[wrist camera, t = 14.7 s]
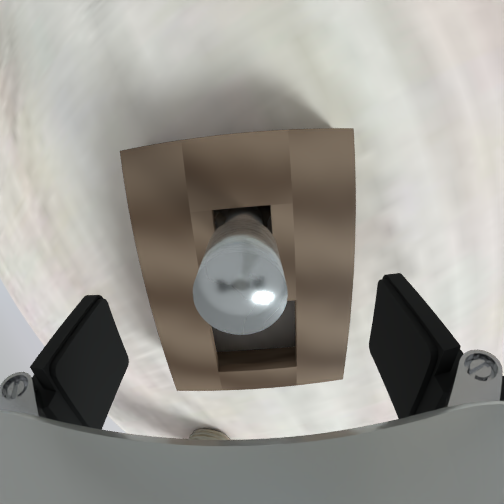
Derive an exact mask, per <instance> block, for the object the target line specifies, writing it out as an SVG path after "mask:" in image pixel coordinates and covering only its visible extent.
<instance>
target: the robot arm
mask: <svg viewBox="0 0 504 504" xmlns="http://www.w3.org/2000/svg"><path fill="white" fill-rule="evenodd" d="M369 349H370V353H371V355H372V357H373V359H374V361H375V364H376V366H377V368H378V370H379V373H380V375H381V377H382V380H383V382H384V384H385V387H386V389H387V391H388V394H389V396H390V398H391V401H392V403H393V406H394V408H395V411H396V413H397V415H398V418H399V419H397V420H393V421H388V422H384V423H379V424H374V425H369V426H364V427H358V428H353V429H347V430H341V431H335V432H328V433H321V434H313V435H305V436H295V437H284V438H270V439H251V440H196V439H176V438H163V437H152V436H142V435H134V434H126V433H119V432H112V431H106V430H102V427H103V424H104V422H105V419H106V417H107V414H108V412H109V410H110V407H111V405H112V402H113V400H114V397H115V395H116V393H117V390H118V388H119V386H120V383H121V381H122V379H123V376H124V374H125V372H126V369H127V367H128V363H129V359H128V355H127V353H126V350H125V348H124V345H123V343H122V340H121V338H120V335H119V333H118V330H117V327H116V325H115V322H114V319H113V316H112V314H111V311H110V308H109V305H108V302H107V301H106V299H103V297H102V296H100V295H87V296H85V297H84V298H83V299H82V300H81V302H80V303H79V304H78V305H77V306H76V308H75V309H74V310H73V311H72V312H71V314H70V315H69V316H68V317H67V319H66V320H65V321H64V322H63V324H62V325H61V326H60V328H59V329H58V330H57V331H56V333H55V334H54V335H53V337H52V338H51V339H50V341H49V342H48V343H47V345H46V346H45V347H44V349H43V350H42V351H41V353H40V354H39V355H38V357H37V358H36V359H35V361H34V362H33V364H32V365H31V366H30V368H31V369H32V371H33V373H34V376H33V377H31V376H30V375H29V374H28V373H25V372H18V373H15V374H12V375H10V376H9V377H7V378H6V379H5V380H4V381H3V383H2V384H1V385H0V504H504V376H502V366H501V364H500V362H499V360H498V359H497V358H496V357H495V356H494V355H492V354H491V353H489V352H486V351H484V350H470V351H468V352H466V353H464V354H463V352H462V351H461V350H460V345H459V343H458V342H457V341H456V339H455V338H454V337H453V335H452V334H451V333H450V332H449V330H448V329H447V328H446V327H445V325H444V324H443V323H442V322H441V320H440V319H439V318H438V317H437V315H436V314H435V313H434V312H433V310H432V309H431V308H430V307H429V306H428V304H427V303H426V302H425V301H424V300H423V298H422V297H421V296H420V295H419V294H418V292H417V291H416V290H415V289H414V288H413V287H412V286H411V284H410V283H409V282H408V281H407V280H406V279H405V278H404V276H403V275H402V274H400V273H397V274H388V275H384V276H383V279H382V280H379V282H378V286H377V295H376V302H375V309H374V316H373V322H372V329H371V335H370V340H369Z"/></svg>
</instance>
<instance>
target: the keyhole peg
mask: <svg viewBox="0 0 504 504" xmlns="http://www.w3.org/2000/svg"><path fill="white" fill-rule="evenodd" d="M214 217H215V225H216V230H215V232H214V233H213V234H212V236H211V238H210V240H209V243H208V245H207V248H206V251H205V254H204V256H203V259H202V262H201V265H200V267H199V270H198V273H197V276H196V279H195V282H194V285H193V300H194V304H195V306H196V309H197V311H198V312H199V314H200V315H201V317H202V318H203V319H204V320H205V321H206V322H207V323H208V324H210V325H211V326H212V327H214V328H216V329H218V330H220V331H222V332H226V333H230V334H236V335H246V334H252V333H256V332H259V331H262V330H264V329H266V328H268V327H269V326H271V325H272V324H273V323H274V322H276V320H277V319H278V318H279V317H280V316H281V314H282V313H283V311H284V309H285V306H286V303H287V297H288V291H287V285H286V281H285V277H284V272H283V268H282V264H281V260H280V256H279V252H278V248H277V244H276V241H275V238H274V237H273V235H272V227H271V213H270V205H264V206H252V207H240V208H229V209H219V210H214Z"/></svg>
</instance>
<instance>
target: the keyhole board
mask: <svg viewBox="0 0 504 504" xmlns="http://www.w3.org/2000/svg"><path fill="white" fill-rule="evenodd" d="M120 155H121V163H122V170H123V177H124V184H125V190H126V196H127V202H128V208H129V213H130V219H131V224H132V229H133V234H134V239H135V244H136V248H137V253H138V257H139V262H140V266H141V270H142V275H143V279H144V283H145V287H146V291H147V295H148V298H149V302H150V306H151V310H152V313H153V317H154V320H155V324H156V327H157V331H158V334H159V337H160V341H161V344H162V347H163V350H164V354H165V357H166V360H167V363H168V366H169V369H170V372H171V375H172V378H173V381H174V384H175V386H176V389H177V391H216V390H243V389H260V388H273V387H284V386H294V385H304V384H312V383H320V382H327V381H334V380H341V379H343V374H344V367H345V359H346V351H347V343H348V334H349V324H350V314H351V302H352V289H353V274H354V254H355V218H356V183H355V148H354V129H351V128H325V129H290V130H272V131H257V132H245V133H234V134H225V135H216V136H207V137H199V138H192V139H185V140H178V141H172V142H165V143H159V144H154V145H148V146H143V147H137V148H132V149H127V150H122V151H120ZM264 205H270V213H271V227H272V235H273V237H274V238H275V241H276V244H277V248H278V252H279V256H280V260H281V264H282V268H283V272H284V277H285V281H286V285H287V291H288V297H287V301H293V300H295V346H294V347H284V348H272V349H260V350H245V351H228V352H217V351H216V346H215V341H214V336H213V331H212V326H211V325H210V324H208V323H207V322H206V321H205V320H204V319H203V318H202V317H201V315H200V314H199V312H198V311H197V309H196V306H195V304H194V300H193V285H194V282H195V279H196V276H197V273H198V270H199V267H200V265H201V262H202V259H203V256H204V254H205V251H206V248H207V245H208V243H209V240H210V238H211V236H212V234H213V233H214V232H215V230H216V225H215V217H214V210H219V209H229V208H240V207H252V206H264Z"/></svg>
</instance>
